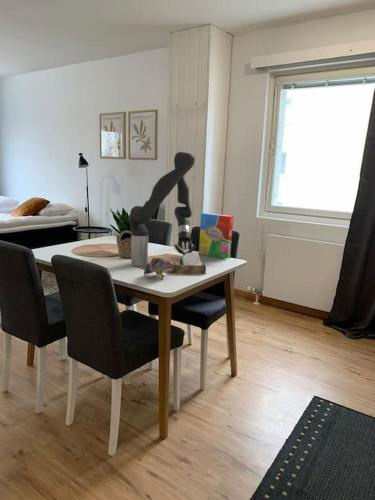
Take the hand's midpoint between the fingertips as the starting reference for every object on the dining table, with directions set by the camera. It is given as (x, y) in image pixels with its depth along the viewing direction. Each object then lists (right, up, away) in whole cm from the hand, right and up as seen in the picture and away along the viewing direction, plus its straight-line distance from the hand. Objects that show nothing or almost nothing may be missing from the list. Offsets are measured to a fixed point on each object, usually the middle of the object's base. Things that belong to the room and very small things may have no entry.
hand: (185, 259), depth 210 cm
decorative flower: (-15, -9, -22) cm, 28 cm away
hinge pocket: (+2, -7, -9) cm, 11 cm away
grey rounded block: (+3, -5, -2) cm, 6 cm away
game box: (+19, +1, +30) cm, 36 cm away
